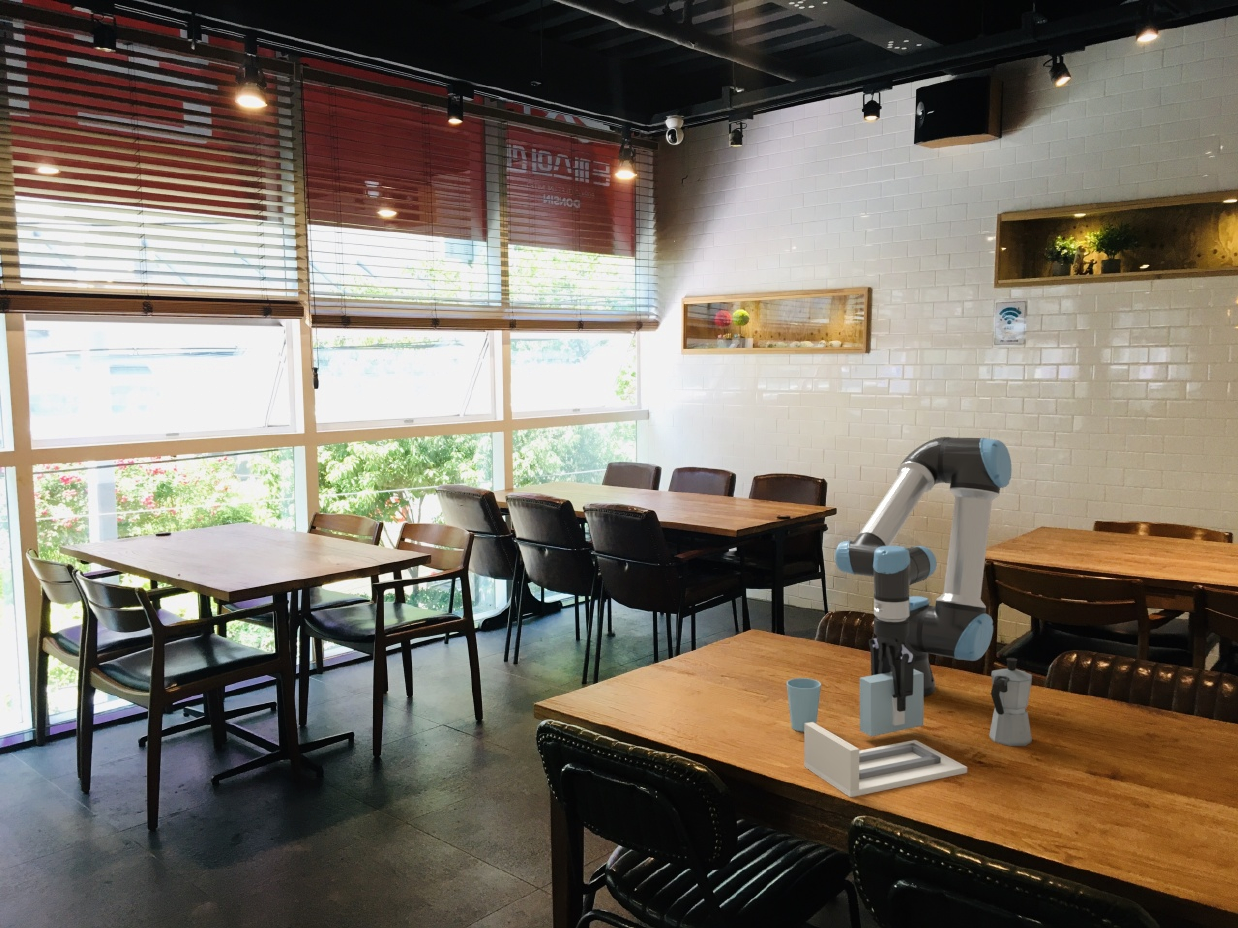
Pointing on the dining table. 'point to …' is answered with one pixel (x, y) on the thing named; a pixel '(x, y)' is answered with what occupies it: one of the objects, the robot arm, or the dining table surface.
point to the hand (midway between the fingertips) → (891, 720)
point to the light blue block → (888, 704)
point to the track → (872, 763)
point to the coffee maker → (1010, 705)
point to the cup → (803, 701)
